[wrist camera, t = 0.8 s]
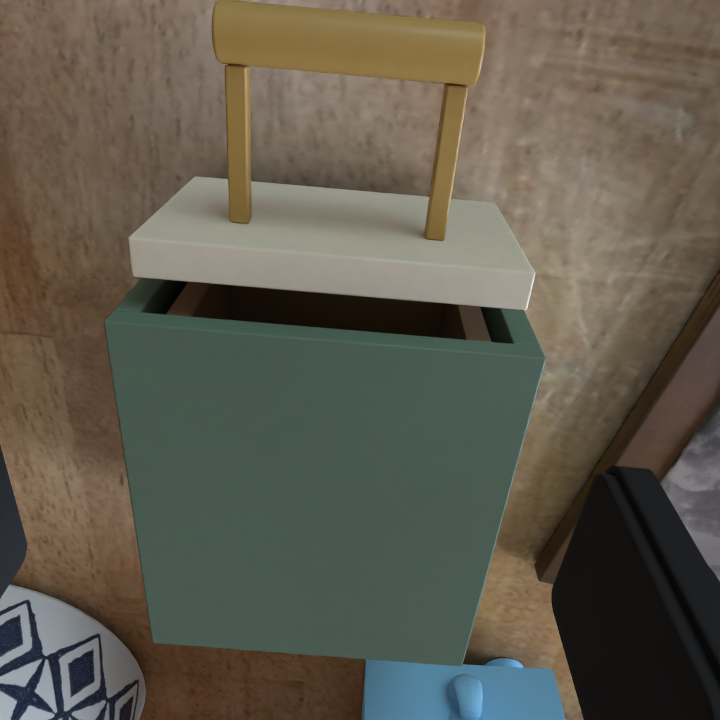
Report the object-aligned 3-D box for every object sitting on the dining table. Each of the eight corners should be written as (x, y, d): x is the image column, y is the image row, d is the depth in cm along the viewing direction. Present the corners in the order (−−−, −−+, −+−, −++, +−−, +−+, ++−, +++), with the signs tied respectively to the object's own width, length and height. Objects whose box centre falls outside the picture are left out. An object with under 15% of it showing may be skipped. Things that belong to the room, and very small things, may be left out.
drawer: (183, -6, 20) (95, -11, 14) (529, 25, 20) (595, 35, 14) (210, 455, 30) (167, 571, 24) (442, 474, 30) (458, 593, 24)
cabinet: (188, 223, 25) (102, 321, 17) (496, 250, 25) (547, 358, 17) (206, 492, 32) (152, 643, 24) (443, 511, 32) (462, 667, 25)
